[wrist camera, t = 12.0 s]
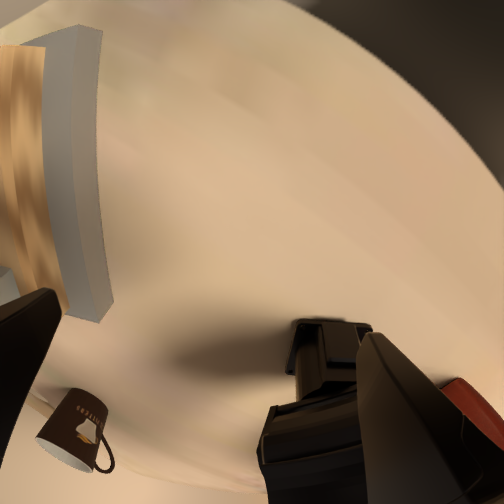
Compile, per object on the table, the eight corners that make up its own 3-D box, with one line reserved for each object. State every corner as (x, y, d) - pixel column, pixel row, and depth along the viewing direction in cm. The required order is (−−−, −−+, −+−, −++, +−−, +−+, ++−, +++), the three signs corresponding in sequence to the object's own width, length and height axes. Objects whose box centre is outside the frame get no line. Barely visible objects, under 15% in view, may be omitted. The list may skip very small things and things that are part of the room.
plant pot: (478, 345, 24) (536, 471, 9) (496, 399, 30) (529, 483, 15) (339, 426, 31) (348, 549, 16) (396, 457, 37) (409, 541, 22)
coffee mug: (54, 377, 33) (23, 429, 24) (100, 389, 32) (71, 451, 23) (87, 422, 38) (66, 468, 29) (131, 433, 37) (112, 486, 28)
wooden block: (70, 307, 21) (45, 337, 18) (21, 293, 21) (-4, 318, 18) (45, 47, 12) (3, 45, 8) (-8, 68, 12) (-46, 72, 9)
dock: (113, 302, 24) (99, 323, 22) (23, 280, 25) (6, 296, 22) (102, 31, 14) (78, 24, 12) (-1, 64, 14) (-25, 66, 12)
